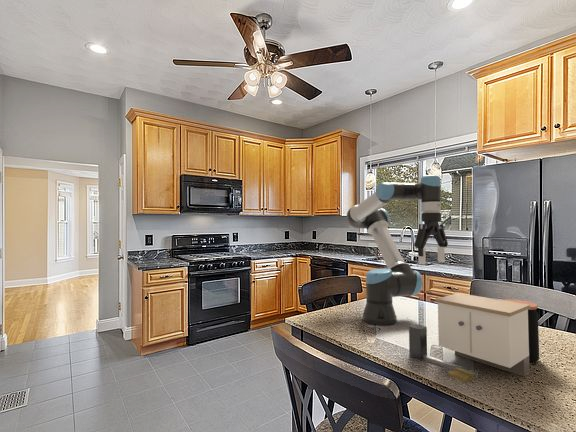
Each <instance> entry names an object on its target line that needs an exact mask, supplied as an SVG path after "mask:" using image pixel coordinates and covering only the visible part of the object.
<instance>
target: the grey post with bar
mask: <svg viewBox="0 0 576 432" xmlns="http://www.w3.org/2000/svg"><path fill="white" fill-rule="evenodd" d="M427 329H428V328H427V326H425V325H420V324H417V323H415V324H411V325H408V341H409V342H408V343H409V345H408V348H409V358H412V359H415V360H418V361H426V362H429V363H432V364H434V365H438V366H440V367H442V368H446V369H449V370H450V371H452V370H454V369H456V368H458V369H461V370H464V371H467V372H470V373H472V374H474V378H475V379H476V378H477V377H478V376H479V375H478V374H479V373H478V371H476V370H473V369H469V368H466V367H465V366H464V367H463V366H460V365H458V364H454V363H451V362H449V361H446V360H444V359H443V360H442V359H440V358H437V357H433V356H430V355H428V331H427ZM474 378H473V379H474Z"/></svg>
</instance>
